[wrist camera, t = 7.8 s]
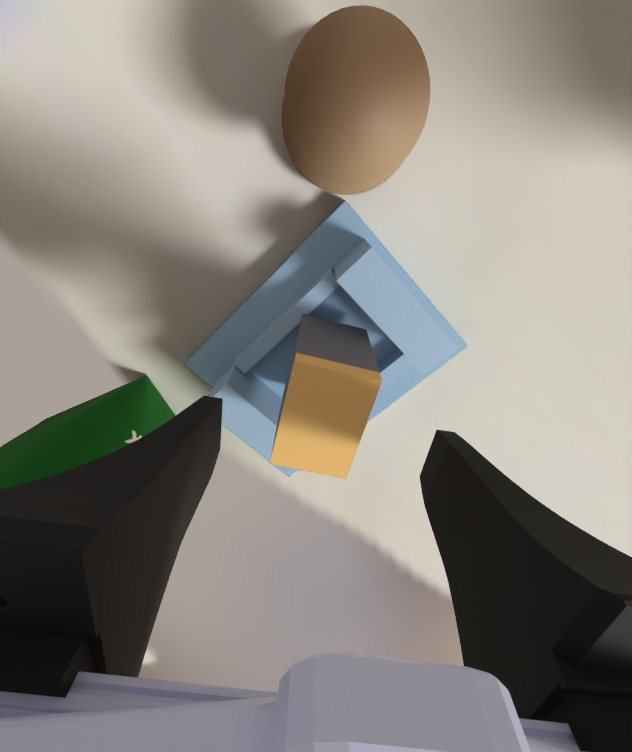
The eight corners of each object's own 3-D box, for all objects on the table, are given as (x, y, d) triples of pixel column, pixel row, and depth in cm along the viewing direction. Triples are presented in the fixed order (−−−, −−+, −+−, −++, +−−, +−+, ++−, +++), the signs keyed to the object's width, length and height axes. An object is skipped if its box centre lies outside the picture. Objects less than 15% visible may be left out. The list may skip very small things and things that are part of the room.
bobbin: (439, 124, 15) (478, 104, 11) (343, 220, 17) (349, 230, 13) (354, 0, 14) (366, -70, 10) (257, 121, 15) (236, 99, 12)
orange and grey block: (366, 329, 17) (382, 381, 13) (340, 408, 19) (345, 479, 15) (302, 313, 17) (294, 361, 12) (282, 395, 19) (269, 463, 14)
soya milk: (233, 473, 24) (-52, 1385, 6) (115, 514, 25) (-389, 1309, 7) (151, 353, 20) (-1309, 1775, 2) (20, 411, 22) (-1381, 1453, 4)
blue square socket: (462, 340, 19) (488, 368, 16) (308, 457, 23) (306, 499, 20) (344, 199, 17) (349, 203, 13) (189, 358, 20) (165, 389, 17)
